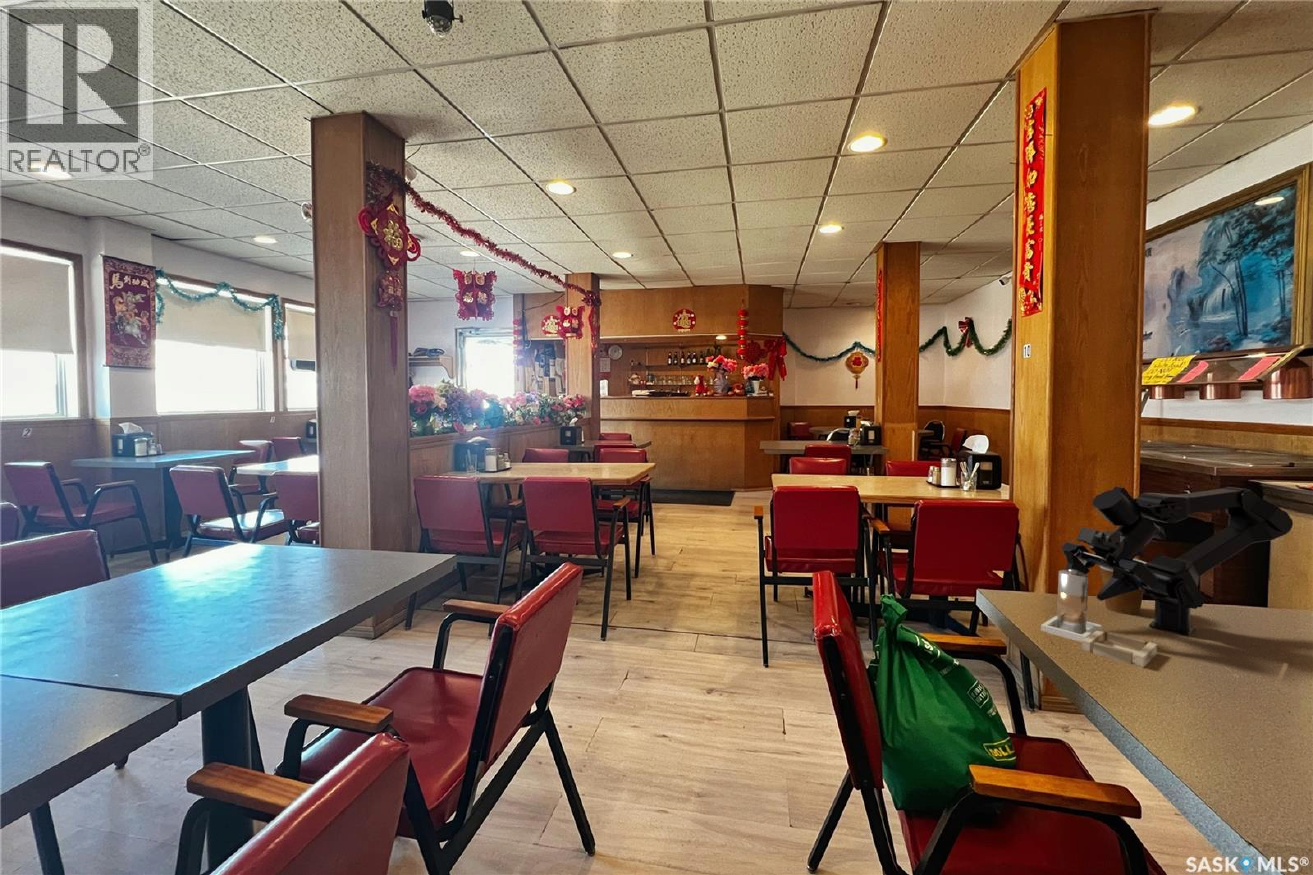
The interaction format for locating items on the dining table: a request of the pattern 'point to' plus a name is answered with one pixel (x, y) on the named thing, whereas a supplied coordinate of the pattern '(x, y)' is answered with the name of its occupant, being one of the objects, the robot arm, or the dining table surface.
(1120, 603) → the disposable coffee cup
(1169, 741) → the dining table surface
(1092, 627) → the tray
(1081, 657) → the dining table surface
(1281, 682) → the dining table surface
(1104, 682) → the dining table surface
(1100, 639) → the tray
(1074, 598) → the battery cell
